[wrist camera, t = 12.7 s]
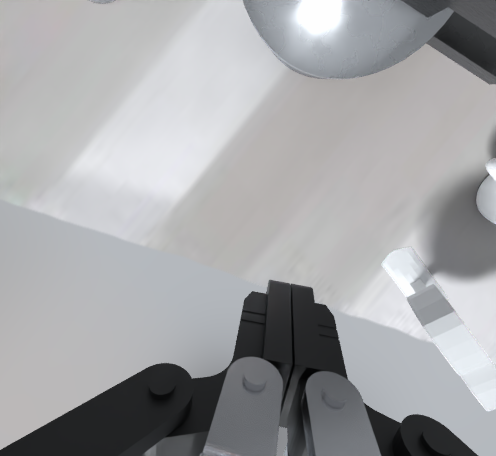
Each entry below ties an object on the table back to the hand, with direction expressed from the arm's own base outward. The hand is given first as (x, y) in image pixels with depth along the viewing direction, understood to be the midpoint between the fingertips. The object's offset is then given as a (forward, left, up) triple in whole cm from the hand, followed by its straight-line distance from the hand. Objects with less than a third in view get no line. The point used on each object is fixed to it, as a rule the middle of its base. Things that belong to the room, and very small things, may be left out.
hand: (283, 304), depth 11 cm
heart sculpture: (+24, -17, -35) cm, 46 cm away
